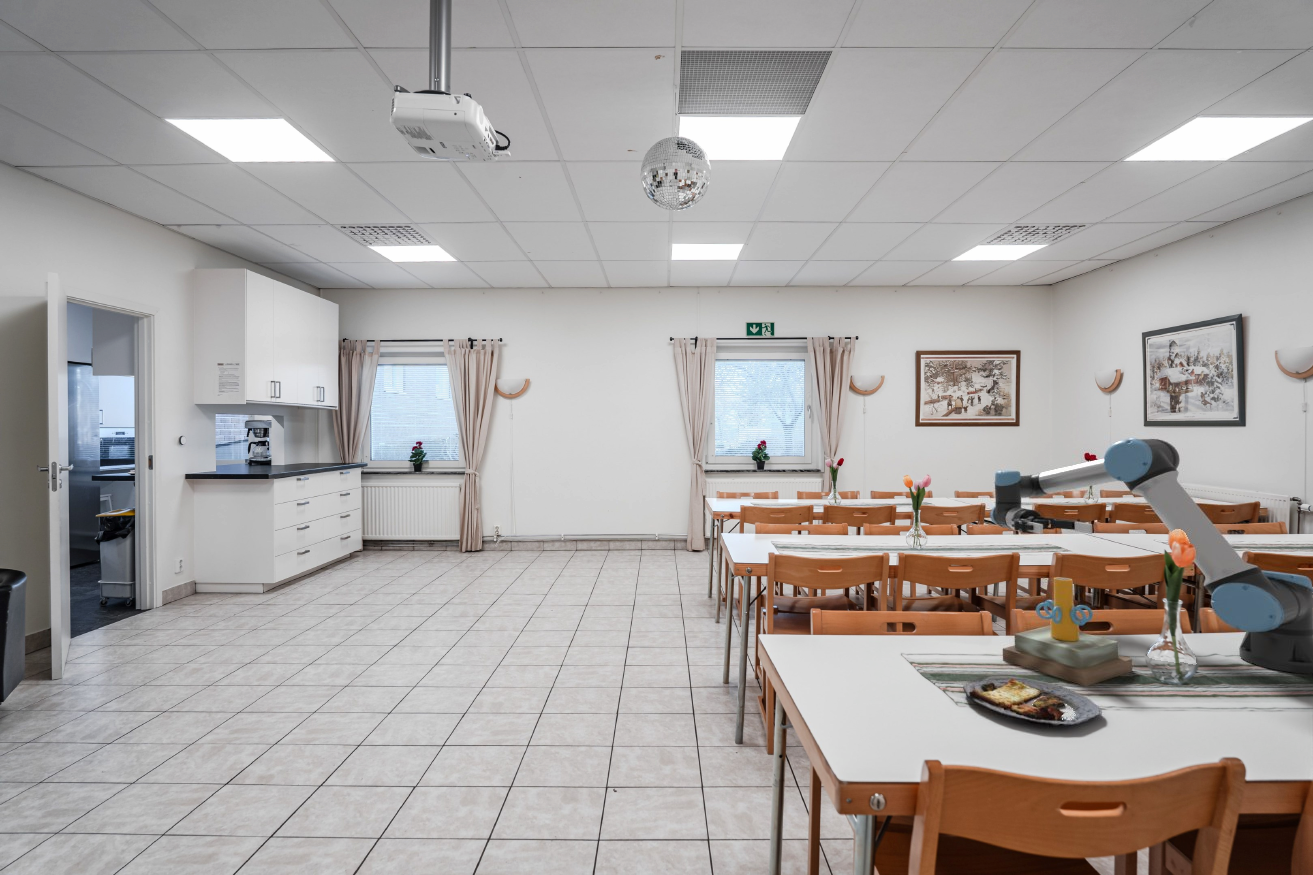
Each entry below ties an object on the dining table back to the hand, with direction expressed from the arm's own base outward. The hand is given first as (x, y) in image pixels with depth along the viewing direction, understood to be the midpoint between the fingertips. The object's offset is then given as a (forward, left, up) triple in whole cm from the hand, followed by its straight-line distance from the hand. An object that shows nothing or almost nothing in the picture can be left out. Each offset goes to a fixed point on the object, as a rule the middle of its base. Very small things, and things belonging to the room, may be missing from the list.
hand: (1066, 529), depth 171 cm
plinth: (-10, +20, -32) cm, 39 cm away
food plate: (-20, +52, -32) cm, 65 cm away
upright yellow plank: (-10, +21, -25) cm, 34 cm away
